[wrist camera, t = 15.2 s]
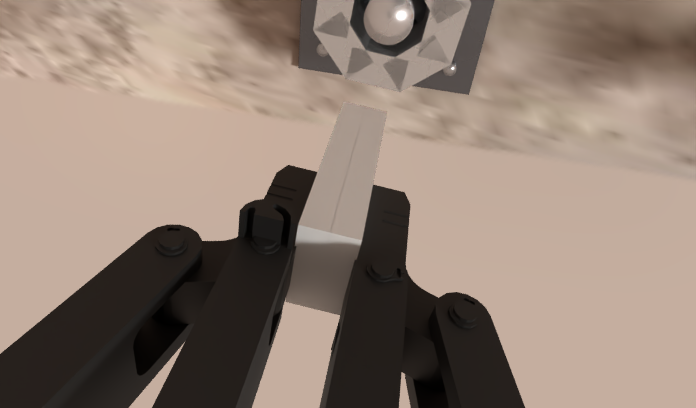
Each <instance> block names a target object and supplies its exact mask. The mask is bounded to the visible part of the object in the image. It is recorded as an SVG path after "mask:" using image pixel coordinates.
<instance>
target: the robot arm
mask: <svg viewBox="0 0 696 408" xmlns="http://www.w3.org/2000/svg"><path fill="white" fill-rule="evenodd" d="M386 116H387V112H386V111H382V110H378V109H374V108H370V107H366V106H362V105H358V104H354V103H350V102H345V101H344V102H343V105H342V107H341V110H340V113H339V116H338V118H337V121H336V124H335V126H334V129H333V132H332V134H331V138H330V140H329V143H328V145H327V148H326V151H325V154H324V156H323V159H322V162H321V164H320V167H319V170H318V172H315V171H311V170H306V169H303V168H298V167H295V166H290V165H288V166H286V167H285V168H283V169H282V170H280V171H279V172H277V173H276V176H275V177H274V179H273V182H272V184H271V186H270V188H269V190H268V192H267V195H266V196H265V198H264V199H262V200H255V201H252V202H250V203H248V204H246V205H245V206H244V207H243V208H242V209H241V210H240V216H239V232H238V237H237V238H234V239H231V240H226V241H202V240H201V238H200V236H199V234H198V233H197V232H196V231H194V230H193V229H191V228H189V227H185V226H182V225H165V226H161V227H157V228H155V229H153V230H152V231H150V232H148V233H147V234H146V235H145V236H143V237H142V238H141V239H140V240H138V241H137V242H136V243H135V244H134V245H132V246H131V247H130V248H129V249H127V250H126V251H125V252H124V253H123V254H121V255H120V256H119V257H118V258H116V259H115V260H114V261H113V262H112V263H110V264H109V265H108V266H107V267H106V268H104V269H103V270H102V271H101V272H100V273H98V274H97V275H96V276H95V277H93V278H92V279H91V280H90V281H88V282H87V283H86V284H85V285H84V286H82V287H81V288H80V289H79V290H78V291H76V292H75V293H74V294H73V295H71V296H70V297H69V298H68V299H67V300H65V301H64V302H63V303H62V304H61V305H59V306H58V307H57V308H56V309H54V310H53V311H52V312H51V313H50V314H48V315H47V316H46V317H45V318H43V319H42V320H41V321H40V322H39V323H37V324H36V325H35V326H34V327H33V328H31V329H30V330H29V331H28V332H26V333H25V334H24V335H23V336H22V337H20V338H19V339H18V340H17V341H15V342H14V343H13V344H12V345H11V346H9V347H8V348H7V349H6V350H4V351H3V352H2V353H1V354H0V408H129V406H130V405H131V404H132V403H133V402H134V400H135V399H136V398H137V397H138V396H139V395H140V394H141V392H142V391H143V390H144V389H145V388H146V386H147V385H148V384H149V383H150V382H151V381H152V379H153V378H154V377H155V376H156V375H157V374H158V372H159V371H160V370H161V369H162V368H163V366H164V365H165V364H166V363H167V362H168V361H169V360H170V358H171V357H172V356H173V355H174V354H175V353H176V351H177V350H178V349H179V348H180V347H181V346H182V344H183V343H184V342H185V343H184V345H183V347H182V349H181V351H180V353H179V355H178V357H177V359H176V361H175V363H174V365H173V367H172V369H171V371H170V373H169V375H168V377H167V379H166V381H165V383H164V385H163V387H162V389H161V391H160V393H159V395H158V397H157V399H156V401H155V403H154V405H153V407H152V408H252V405H253V402H254V399H255V396H256V393H257V390H258V387H259V384H260V380H261V378H262V375H263V371H264V369H265V365H266V362H267V359H268V356H269V353H270V350H271V347H272V344H273V341H274V338H275V335H276V332H277V329H278V326H279V323H280V319H281V315H282V309H283V305H284V301H285V299H286V302H289V303H293V304H297V305H301V306H305V307H309V308H313V309H317V310H321V311H325V312H329V313H334V314H338V315H340V319H339V323H338V326H337V330H336V333H335V337H334V341H333V344H332V348H331V350H332V352H331V357H330V362H329V366H328V371H327V375H326V380H325V385H324V389H323V394H322V398H321V403H320V408H399V397H400V384H401V372H403V373H405V379H406V384H407V390H408V395H409V400H410V405H411V408H525V406H524V404H523V401H522V398H521V395H520V393H519V390H518V388H517V385H516V383H515V380H514V377H513V375H512V372H511V369H510V367H509V364H508V361H507V358H506V356H505V353H504V350H503V348H502V345H501V343H500V340H499V337H498V334H497V332H496V329H495V327H494V324H493V321H492V319H491V316H490V314H489V313H488V311H487V309H486V308H485V307H484V306H483V305H482V304H481V303H480V302H479V301H478V300H476V299H474V298H473V297H471V296H469V295H466V294H462V293H458V292H454V293H446V294H445V295H443V296H441V297H439V298H438V297H436V296H434V295H432V294H430V293H428V292H426V291H425V290H423V289H421V288H420V287H419V286H418V285H416V284H415V283H414V282H413V281H412V279H411V278H410V276H409V275H408V272H407V270H406V265H405V264H406V263H405V262H406V251H407V239H408V226H409V214H410V203H409V201H408V199H407V197H406V195H405V193H404V192H401V191H397V190H393V189H388V188H385V187H381V186H376V185H373V182H374V177H375V172H376V167H377V162H378V157H379V151H380V146H381V141H382V136H383V131H384V126H385V121H386Z"/></svg>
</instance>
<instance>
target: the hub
mask: <svg viewBox="0 0 696 408" xmlns="http://www.w3.org/2000/svg"><path fill="white" fill-rule="evenodd" d="M317 1H318V0H301V20H300V44H299V68H302V69H308V70H315V71H321V72H328V73H334V74H340V75H343V74H342V73H341V71H340V70H339V68H338V67H337V65H336V64H335V62H334V61H333V59H332V58H331V56H330V55H329V53H328V52H327V50H326V49H325V47H324V46H323V44H322V43H321V41H320V40H319V38H318V37H317V35H316V34H315V32H314V31H313V28H314V21H315V14H316V7H317ZM470 1H471V6H470V9H469V12H468V15H467V18H466V21H465V24H464V27H463V30H462V33H461V36H460V39H459V42H458V45H457V48H456V51H455V54H454V57H453V60H452V63H451V65H449V66H447V67H445V68H443V69H442V70H440V71H438V72H436V73H434V74H432V75H431V76H429V77H427V78H425V79H423V80H422V81H420V82H418V83H416V84H414V85H412V86H417V87H423V88H429V89H436V90H442V91H449V92H455V93H461V94H468V95H469V92H470V88H471V85H472V81H473V77H474V74H475V70H476V66H477V63H478V59H479V55H480V52H481V48H482V44H483V41H484V37H485V33H486V30H487V26H488V22H489V19H490V15H491V11H492V7H493V4H494V0H470ZM360 5H361V6H362V8H363V9H364V11H365V13H364V26H365V29H366V31H367V33H368V35H369V36H370V37H371V38H372V39H373V40H374V41H376V42H378V43H380V44H384V45H393V44H397V43H399V42H401V41H402V40H404V39H405V38H406V37H407V36H408V35H409V33H410V31H411V29H412V26H413V25H414V24H416V23H417V22H419V21H421V20H422V19H423V18H424V14H425V11H426V7H427V4H426V2H425V0H360Z"/></svg>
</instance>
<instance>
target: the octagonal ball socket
mask: <svg viewBox="0 0 696 408" xmlns="http://www.w3.org/2000/svg"><path fill="white" fill-rule="evenodd" d="M425 2H426V4H427V7H426V11H425V14H424V18H423V19H422V20H421V21H419V22H417V23H416V24H414V25H413V26H412V29H411V31H410V33H409V35H408V36H407V37H406V38H405V39H404V40H402V41H401V42H399V43H397V44H393V45H384V44H380V43H378V42H376V41H374V40H373V39H372V38H371V37H370V36H369V35H368V33H367V31H366V29H365V26H364V13H365V11H364V9H363V8H362V6H361V5H360V0H318V1H317V7H316V14H315V21H314V28H313V31H314V32H315V34H316V35H317V37H318V38H319V40H320V41H321V43H322V44H323V46H324V47H325V49H326V50H327V52H328V53H329V55H330V56H331V58H332V59H333V61H334V62H335V64H336V65H337V67H338V68H339V70H340V71H341V73H342V74H343V76H344V77H345V79H348V80H352V81H356V82H360V83H364V84H368V85H372V86H376V87H381V88H385V89H389V90H393V91H397V92H401V91H403V90H405V89H407V88H409V87H411V86H412V85H414V84H416V83H418V82H420V81H422V80H423V79H425V78H427V77H429V76H431V75H432V74H434V73H436V72H438V71H440V70H442V69H443V68H445V67H447V66H449V65H451V63H452V60H453V57H454V54H455V51H456V48H457V45H458V42H459V39H460V36H461V33H462V30H463V27H464V24H465V21H466V18H467V15H468V12H469V9H470V6H471V1H470V0H425Z"/></svg>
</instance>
